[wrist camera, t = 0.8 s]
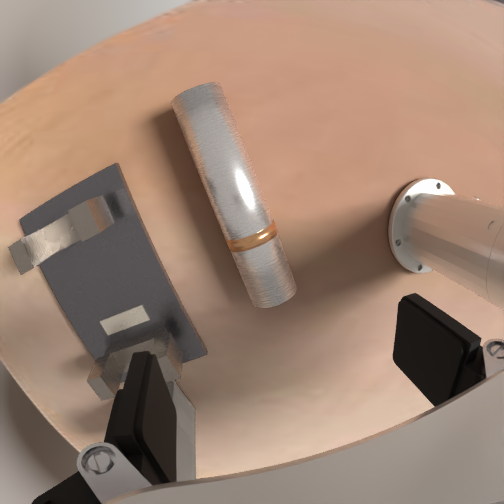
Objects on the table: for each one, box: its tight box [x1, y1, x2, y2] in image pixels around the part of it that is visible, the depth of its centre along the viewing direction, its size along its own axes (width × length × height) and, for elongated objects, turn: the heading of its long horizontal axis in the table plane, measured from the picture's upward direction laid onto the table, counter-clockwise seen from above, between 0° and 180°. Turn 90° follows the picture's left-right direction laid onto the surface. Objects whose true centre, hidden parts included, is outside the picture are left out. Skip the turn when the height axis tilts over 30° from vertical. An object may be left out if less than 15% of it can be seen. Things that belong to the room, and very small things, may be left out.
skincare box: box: [166, 380, 196, 482], centre depth 31 cm, size 8×7×16 cm
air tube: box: [171, 82, 297, 308], centre depth 30 cm, size 22×5×5 cm, turn 21°
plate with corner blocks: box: [8, 163, 207, 400], centre depth 29 cm, size 14×24×8 cm, turn 21°
